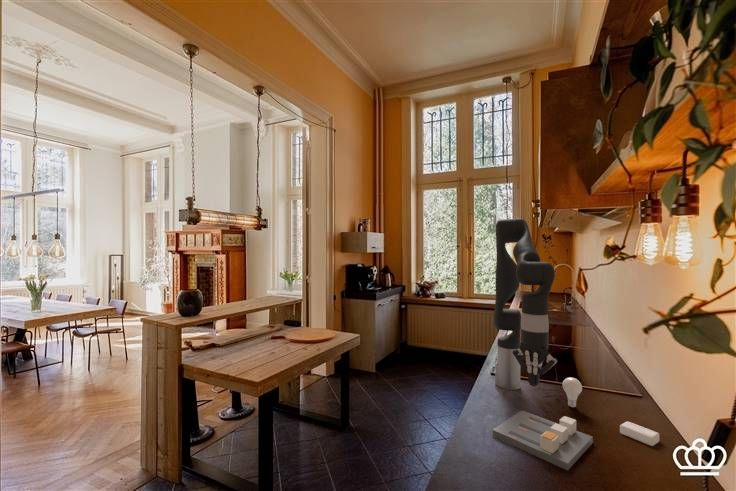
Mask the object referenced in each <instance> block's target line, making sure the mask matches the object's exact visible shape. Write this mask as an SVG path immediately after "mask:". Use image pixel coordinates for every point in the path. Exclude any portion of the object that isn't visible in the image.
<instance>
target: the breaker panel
mask: <svg viewBox="0 0 736 491" xmlns="http://www.w3.org/2000/svg"><path fill="white" fill-rule="evenodd" d="M546 431H550V432H552V433H555V434H557V436H559V448H558V449H557V450H556V451H555V452H554V453H550V452H548V451H546V450H544V449H541V448H540V436H541V435H542V434H543V433H544V432H546ZM494 436H495V437H494ZM492 437H494V438H496V437H497V439H498V438H500V439H501V441H503V440H504V441H503V442H505V443H507V444H509V445H511V446H513V445H514V446H513V447H515V446H516V448H518V449H520V450H522V451H524V452H526V453H529V454H531V455H533V456H535V457H538V458H540V459H542V460H544V461H546V462H548V463H550V464H552V465H554V466H556V467H559V468H561V469H563V470H565V471H569V470H570V469H571V467H573V465H574V464H575V463H576V462H577V461H578V460H579V459H580V458H581V456H583V454H584V453H585V452H587V450H588V449H589V448H590V447H591V446H592V444H593V443H594V441H593V440H594V438H593V437H594V436H591V435H590V434H587V433H584V432H581V431H578V430H577V420H576V419H574V418H571V417H569V416H566V415H564V416H562V417H561V418H559V423H557V422H555V421H551V420H549V419H547V418H544V417H541V416H538V415H536V414H533V413H530V412H528V411H525V410H520V411H519V412H517V413H516V414H514V415H512V416H511V417H510V418H508V419H506V421H504V422H502V423H501V424H499V425H497V426H496V427H495V428H493V429H492ZM500 439H499V440H500Z"/></svg>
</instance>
